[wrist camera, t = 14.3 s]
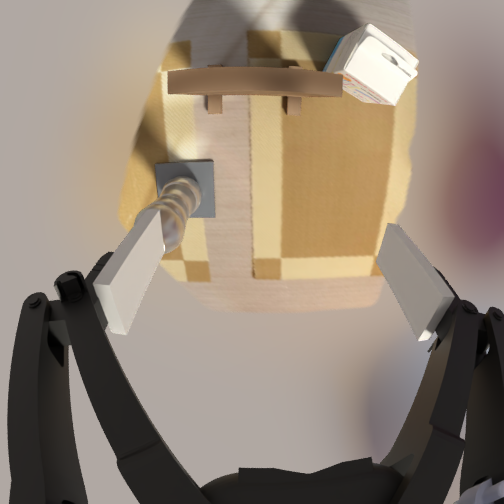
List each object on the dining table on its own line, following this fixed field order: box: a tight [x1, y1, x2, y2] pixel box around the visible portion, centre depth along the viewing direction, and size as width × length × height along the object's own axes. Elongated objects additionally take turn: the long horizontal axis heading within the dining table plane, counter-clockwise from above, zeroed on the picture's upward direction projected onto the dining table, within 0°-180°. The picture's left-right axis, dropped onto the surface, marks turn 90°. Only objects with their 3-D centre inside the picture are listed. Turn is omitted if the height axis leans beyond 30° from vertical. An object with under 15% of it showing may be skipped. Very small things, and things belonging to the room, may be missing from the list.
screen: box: [168, 65, 343, 116], centre depth 28 cm, size 8×14×22 cm, turn 89°
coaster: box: [155, 161, 215, 218], centre depth 46 cm, size 10×10×1 cm
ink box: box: [322, 23, 419, 106], centre depth 29 cm, size 9×8×13 cm
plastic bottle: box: [134, 176, 202, 255], centre depth 37 cm, size 6×7×20 cm
